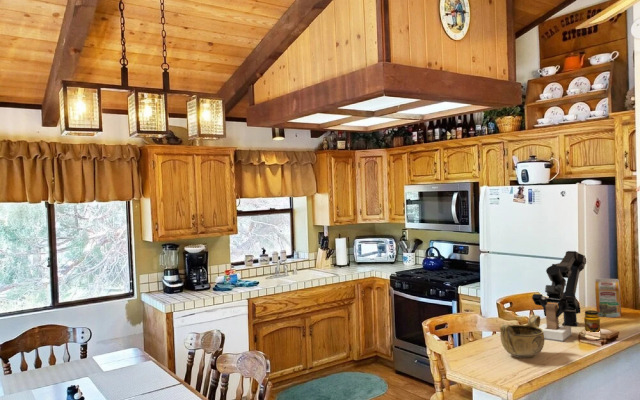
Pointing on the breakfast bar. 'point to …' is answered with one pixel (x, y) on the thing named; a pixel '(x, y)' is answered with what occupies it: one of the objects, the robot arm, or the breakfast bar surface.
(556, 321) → the peg
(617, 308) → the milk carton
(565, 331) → the socket block
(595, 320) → the condiment
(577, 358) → the breakfast bar surface
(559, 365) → the breakfast bar surface
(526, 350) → the ceramic bowl
